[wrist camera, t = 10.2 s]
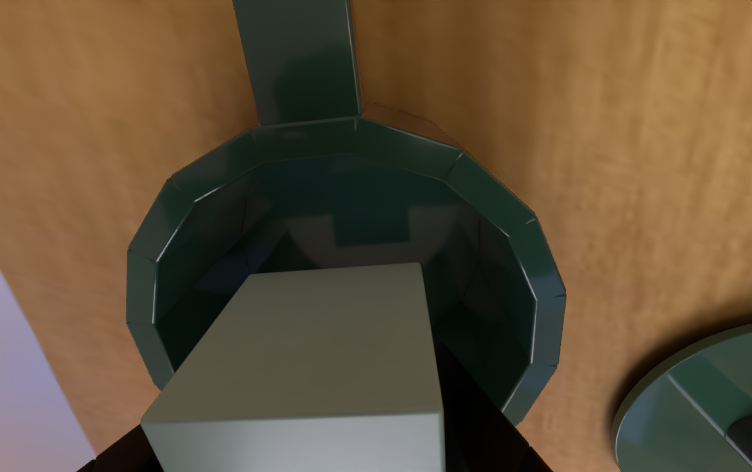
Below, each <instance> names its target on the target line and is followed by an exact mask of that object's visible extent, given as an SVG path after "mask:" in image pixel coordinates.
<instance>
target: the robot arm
mask: <svg viewBox="0 0 752 472" xmlns="http://www.w3.org/2000/svg"><path fill="white" fill-rule="evenodd" d="M433 345H434V351H435V358H436V364H437V371H438V377H439V383H440V390H441V396H442V402H443V409H444V433H445V458H446V472H553V471H552V470H551V469H550V467H549V466H548V465H547V464H546V463H545V462H544V461H543V459H542V458H541V457H540V456H539V455H538V453H537V452H536V451H535V450H534V449H533V448H532V447H531V446H530V447H529V443H528V442H527V441H526V439H525V438H524V437H523V436H522V435H521V434H520V432H519V431H518V430H517V429H516V428H515V426H514V425H513V424H512V423H511V422H510V421H509V419H508V418H507V417H506V416H505V415H504V413H503V412H502V411H501V410H500V409H499V408H498V406H497V405H496V404H495V403H494V402H493V401H492V399H491V398H490V397H489V396H488V395H487V393H486V392H485V391H484V390H483V389H482V388H481V386H480V385H479V384H478V383H477V382H476V380H475V379H474V378H473V377H472V376H471V375H470V373H469V372H468V371H467V370H466V369H465V367H464V366H463V365H462V364H461V363H460V362H459V360H458V359H457V358H456V357H455V356H454V354H453V353H452V352H451V351H450V350H449V349H448V347H447V346H446V345H445V344H444V343H443V342H433ZM77 472H164V470H163V468H162V466H161V464H160V462H159V460H158V458H157V456H156V454H155V452H154V450H153V448H152V446H151V444H150V442H149V440H148V438H147V436H146V434H145V432H144V430H143V428H142V426H141V423H140V424H139V425H138V426H136V427H135V428H134V429H132V430H131V431H130V432H128V433H127V434H126V435H124V436H123V437H122V438H121V439H119V440H118V441H117V442H115V443H114V444H113V445H111V446H110V447H109V448H107V449H106V450H105V451H103V452H102V453H101V454H99V455H98V456H97V457H96V460H91V461H90V462H89V463H87V464H86V465H85V466H83V467H82V468H81V469H79V470H78V471H77Z"/></svg>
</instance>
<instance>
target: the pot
mask: <svg viewBox="0 0 752 472" xmlns="http://www.w3.org/2000/svg"><path fill="white" fill-rule="evenodd" d="M232 1H233V6H234V10H235V15H236V19H237V24H238V28H239V33H240V37H241V42H242V46H243V51H244V55H245V60H246V64H247V69H248V73H249V78H250V82H251V87H252V92H253V96H254V101H255V105H256V110H257V114H258V119H259V123H260V125H256V126H254V127H251V128H248V129H246V130H244V131H242V132H241V133H239V134H238V135H236V136H234V137H233V138H231V139H229V140H228V141H226V142H225V143H223V144H221V145H220V146H218V147H216V148H215V149H213V150H211V151H210V152H208V153H207V154H205V155H203V156H202V157H200V158H198V159H197V160H195V161H194V162H192V163H190V164H189V165H187V166H185V167H184V168H182V169H181V170H179V171H177V172H176V173H174V174H172V176H171V178H169V179H167V181H166V182H165V184H164V186H163V187H162V189H161V191H160V193H159V194H158V196H157V198H156V200H155V201H154V203H153V205H152V207H151V208H150V210H149V212H148V213H147V215H146V217H145V219H144V220H143V222H142V224H141V226H140V227H139V229H138V231H137V232H136V234H135V236H134V238H133V239H132V241H131V243H130V245H129V247H128V248H129V249H128V251H127V292H126V321H127V322H126V324H127V326H128V328H129V330H130V333H131V335H132V337H133V339H134V341H135V344H136V346H137V348H138V350H139V352H140V355H141V357H142V359H143V361H144V363H145V366H146V368H147V370H148V372H149V374H150V377H151V379H152V381H153V383H154V385H156V386H157V388H158V389H159V390H160V391H162V390H163V389H164V387H165V386H166V385H167V383H168V382H169V381H170V379H171V378H172V377H173V375H174V374H175V373H176V371H177V370H178V369H179V367H180V366H181V365H182V363H183V362H184V361H185V360H186V358H187V357H188V356H189V354H190V353H191V352H192V350H193V349H194V348H195V346H196V345H197V344H198V342H199V341H200V340H201V338H202V337H203V336H204V334H205V333H206V332H207V330H208V329H209V328H210V326H211V325H212V324H213V322H214V321H215V320H216V318H217V317H218V316H219V314H220V313H221V312H222V311H223V309H224V308H225V307H226V305H227V304H228V303H229V301H230V300H231V299H232V297H233V296H234V295H235V293H236V292H237V291H238V289H239V288H240V287H241V285H242V284H243V283H244V281H245V280H246V279H247V277H248V276H249V275H251V274H260V273H274V272H288V271H302V270H316V269H331V268H345V267H359V266H373V265H387V264H401V263H415V262H418V263H420V265H421V269H422V275H423V281H424V288H425V294H426V300H427V307H428V313H429V320H430V326H431V332H432V339H433V342H443V343H444V344H445V345H446V346H447V347H448V349H449V350H450V351H451V352H452V353H453V354H454V356H455V357H456V358H457V359H458V360H459V362H460V363H461V364H462V365H463V366H464V367H465V369H466V370H467V371H468V372H469V373H470V375H471V376H472V377H473V378H474V379H475V380H476V382H477V383H478V384H479V385H480V386H481V388H482V389H483V390H484V391H485V392H486V393H487V395H488V396H489V397H490V398H491V399H492V401H493V402H494V403H495V404H496V405H497V406H498V408H499V409H500V410H501V411H502V412H503V413H504V415H505V416H506V417H507V418H508V419H509V421H510V422H511V423H512V424H513V425H514V426H515V427H516V426H517V425H518V424H519V422H522V421H523V419H524V418H525V416H526V414H527V413H528V411H529V410H530V408H531V407H532V405H533V404H534V402H535V401H536V399H537V398H538V396H539V395H540V393H541V392H542V390H543V389H544V387H545V385H546V384H547V382H548V381H549V379H550V378H551V376H552V375H553V373H554V372H555V370H556V369H557V365H558V363H559V354H560V346H561V338H562V330H563V321H564V313H565V305H566V297H567V296H566V289H565V286H564V283H563V281H562V278H561V276H560V273H559V271H558V268H557V266H556V263H555V261H554V258H553V255H552V253H551V250H550V248H549V245H548V243H547V240H546V238H545V235H544V233H543V230H542V227H541V225H540V222H539V220H538V217H537V216H536V215H535V212H534V211H532V210H531V209H530V208H529V207H528V206H527V205H526V204H525V203H523V202H522V201H521V200H520V199H519V198H518V197H517V196H516V195H515V194H513V193H512V192H511V191H510V190H509V189H508V188H507V187H506V186H504V185H503V184H502V183H501V182H500V181H499V180H498V179H497V178H496V177H494V176H493V175H492V174H491V173H490V172H489V171H488V170H487V169H485V168H484V167H483V166H482V165H481V164H480V163H479V162H478V161H477V160H475V159H474V158H473V157H472V156H471V155H470V154H469V153H468V152H466V151H465V150H464V149H463V148H462V147H461V146H460V145H459V144H458V143H456V142H455V141H454V140H453V139H452V138H451V137H450V136H449V135H447V134H446V133H445V132H444V131H443V130H442V129H441V128H440V127H439V126H437V125H436V124H435V123H433V122H432V121H430V120H426V119H423V118H420V117H417V116H414V115H411V114H408V113H406V112H403V111H400V110H395V109H392V108H389V107H386V106H383V105H379V104H376V103H364V94H363V85H362V76H361V67H360V58H359V49H358V39H357V30H356V21H355V12H354V3H353V0H232Z"/></svg>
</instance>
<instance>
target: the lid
mask: <svg viewBox="0 0 752 472" xmlns="http://www.w3.org/2000/svg"><path fill="white" fill-rule="evenodd" d="M610 441H611V451H612V454H613V457H614V460H615V462H616V464H617V466H618V468H619V469H620V471H621V472H752V324H747V325H743V326H739V327H736V328H732V329H729V330H725V331H722V332H719V333H717V334H714V335H712V336H709V337H706V338H704V339H702V340H700V341H697V342H695V343H693V344H691V345H689V346H687V347H685V348H683V349H682V350H680V351H678V352H677V353H675V354H673V355H672V356H670V357H668V358H667V359H665V360H664V361H663V362H661V363H660V364H659V365H657V366H656V367H654V368H653V369H652V370H651V371H650V372H649V373H647V374H646V375H645V376H644V377H643V378H642V379H641V380H640V381H639V382H638V383H637V384H636V385H635V386H634V387H633V389H632V390H631V391H630V392H629V393H628V395H627V396H626V398H625V399H624V400H623V402H622V403H621V405H620V407H619V409H618V411H617V413H616V415H615V418H614V421H613V424H612V428H611V437H610Z"/></svg>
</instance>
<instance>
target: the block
mask: <svg viewBox="0 0 752 472" xmlns="http://www.w3.org/2000/svg"><path fill="white" fill-rule="evenodd" d="M141 426H142V428H143V430H144V432H145V434H146V436H147V438H148V440H149V442H150V444H151V446H152V448H153V450H154V452H155V454H156V456H157V458H158V460H159V462H160V464H161V466H162V468H163V470H164V472H446V458H445V433H444V409H443V402H442V396H441V390H440V383H439V377H438V371H437V364H436V358H435V351H434V345H433V339H432V332H431V326H430V320H429V313H428V307H427V300H426V294H425V288H424V281H423V275H422V269H421V265H420V263H418V262H415V263H401V264H387V265H373V266H359V267H345V268H331V269H316V270H302V271H288V272H274V273H260V274H251V275H249V276H248V277H247V279H246V280H245V281H244V283H243V284H242V285H241V287H240V288H239V289H238V291H237V292H236V293H235V295H234V296H233V297H232V299H231V300H230V301H229V303H228V304H227V305H226V307H225V308H224V309H223V311H222V312H221V313H220V314H219V316H218V317H217V318H216V320H215V321H214V322H213V324H212V325H211V326H210V328H209V329H208V330H207V332H206V333H205V334H204V336H203V337H202V338H201V340H200V341H199V342H198V344H197V345H196V346H195V348H194V349H193V350H192V352H191V353H190V354H189V356H188V357H187V358H186V360H185V361H184V362H183V363H182V365H181V366H180V367H179V369H178V370H177V371H176V373H175V374H174V375H173V377H172V378H171V379H170V381H169V382H168V383H167V385H166V386H165V387H164V389H163V390H162V391H161V393H160V394H159V395H158V397H157V398H156V399H155V401H154V402H153V403H152V405H151V406H150V407H149V409H148V410H147V411H146V412H145V414H144V415H143V416H142V418H141Z"/></svg>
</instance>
